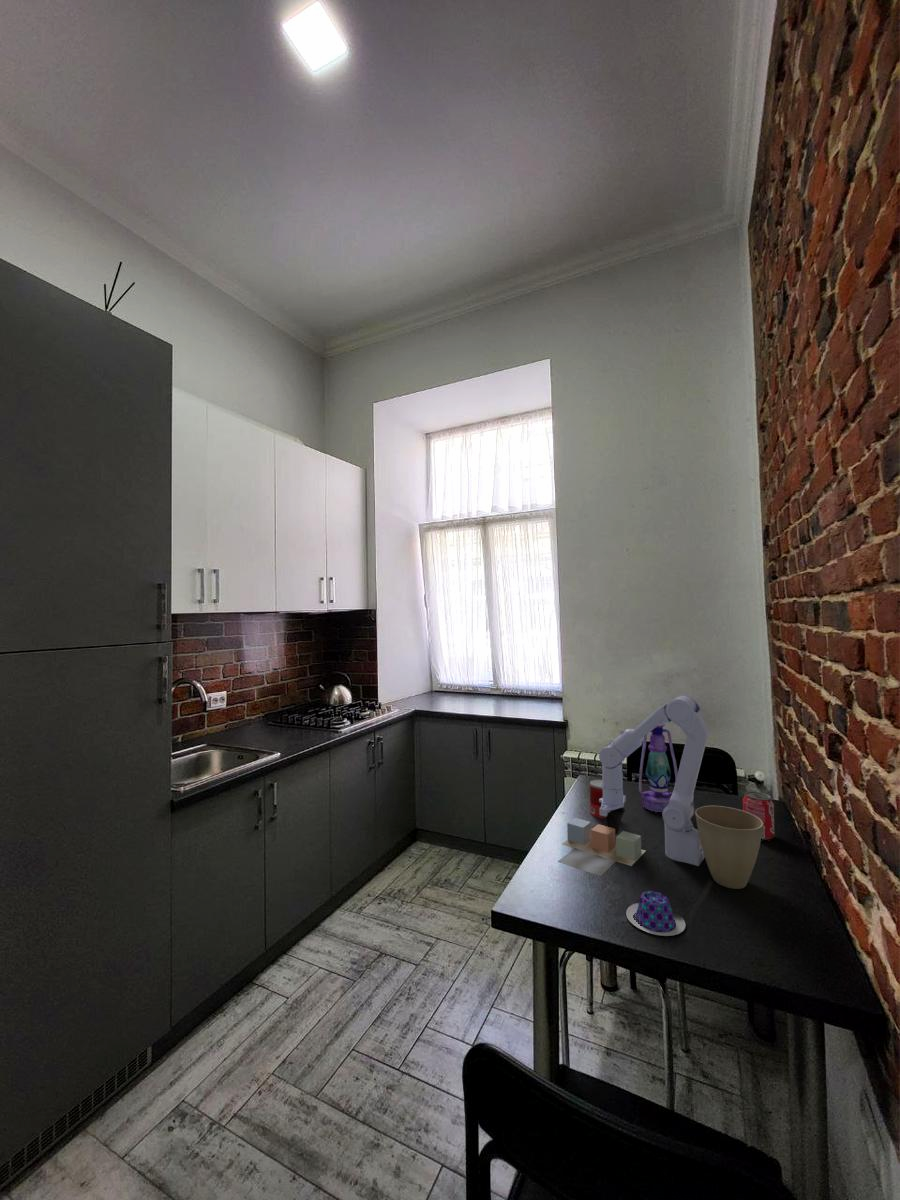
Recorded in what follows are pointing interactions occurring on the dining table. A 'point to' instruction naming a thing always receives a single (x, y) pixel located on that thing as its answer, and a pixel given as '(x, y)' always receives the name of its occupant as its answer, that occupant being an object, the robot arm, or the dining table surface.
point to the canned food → (596, 797)
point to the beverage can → (761, 811)
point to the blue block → (579, 831)
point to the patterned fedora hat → (655, 915)
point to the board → (592, 858)
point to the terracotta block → (603, 838)
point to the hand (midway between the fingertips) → (613, 833)
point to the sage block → (628, 845)
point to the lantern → (657, 770)
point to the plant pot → (729, 843)
